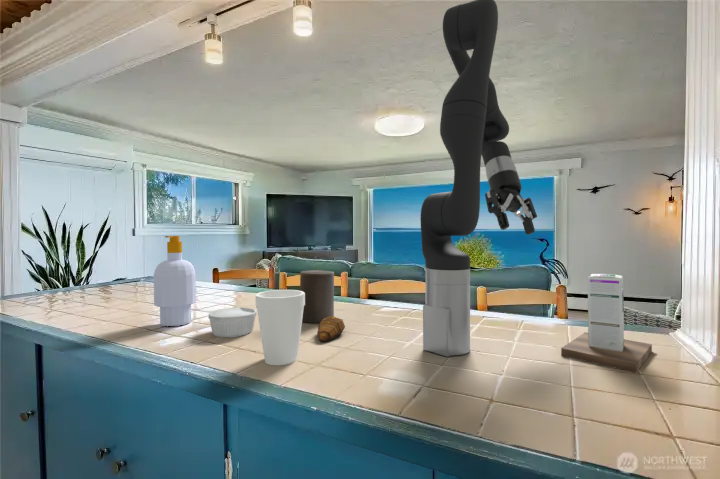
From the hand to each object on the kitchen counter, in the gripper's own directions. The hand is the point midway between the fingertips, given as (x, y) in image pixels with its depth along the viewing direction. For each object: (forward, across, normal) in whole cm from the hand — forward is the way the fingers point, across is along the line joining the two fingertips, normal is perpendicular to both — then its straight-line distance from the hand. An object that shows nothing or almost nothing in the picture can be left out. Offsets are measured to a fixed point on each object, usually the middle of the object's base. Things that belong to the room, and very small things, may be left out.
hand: (518, 230), depth 87 cm
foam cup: (+28, -53, +19) cm, 63 cm away
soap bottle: (+13, -74, +56) cm, 94 cm away
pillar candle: (+13, -38, +43) cm, 59 cm away
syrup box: (+29, +7, -7) cm, 30 cm away
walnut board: (+30, +8, -6) cm, 32 cm away
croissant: (+21, -39, +29) cm, 53 cm away
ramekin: (+18, -61, +41) cm, 75 cm away
